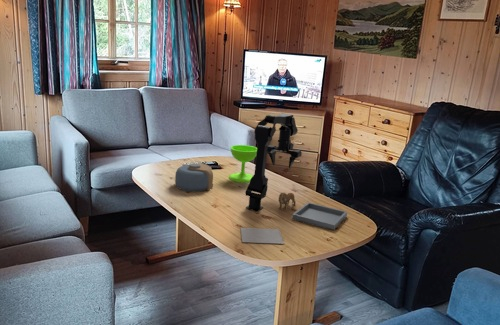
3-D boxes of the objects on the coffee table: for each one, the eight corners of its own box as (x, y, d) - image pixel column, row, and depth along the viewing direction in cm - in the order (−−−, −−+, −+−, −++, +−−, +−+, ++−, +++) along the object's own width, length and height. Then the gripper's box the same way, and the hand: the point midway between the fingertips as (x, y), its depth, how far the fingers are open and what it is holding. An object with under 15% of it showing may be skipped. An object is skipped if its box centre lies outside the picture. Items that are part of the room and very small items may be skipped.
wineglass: (225, 174, 264) (227, 144, 259) (251, 174, 269) (253, 145, 264) (232, 183, 249) (234, 151, 244) (259, 182, 254) (262, 151, 249)
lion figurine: (284, 213, 211) (286, 195, 209) (274, 210, 214) (276, 192, 212) (297, 204, 224) (299, 187, 222) (287, 202, 226) (289, 185, 224)
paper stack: (239, 220, 199) (239, 219, 199) (294, 223, 201) (294, 221, 201) (242, 243, 177) (242, 241, 177) (304, 246, 179) (304, 244, 179)
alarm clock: (217, 191, 234) (218, 169, 231) (179, 193, 227) (180, 170, 223) (206, 180, 251) (208, 159, 248) (171, 181, 244) (172, 160, 241)
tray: (333, 230, 196) (334, 225, 195) (291, 219, 204) (292, 214, 204) (346, 216, 213) (347, 211, 212) (307, 206, 222) (308, 202, 221)
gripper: (307, 138, 233) (303, 167, 237) (274, 132, 241) (272, 160, 246) (298, 142, 224) (295, 171, 228) (265, 135, 232) (263, 164, 236)
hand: (281, 166), depth 234 cm, fingers open, 9 cm apart
